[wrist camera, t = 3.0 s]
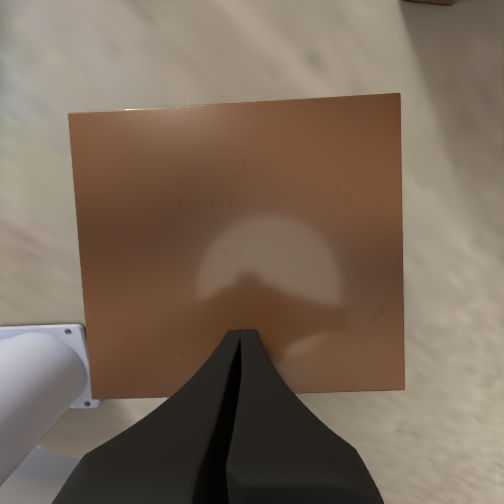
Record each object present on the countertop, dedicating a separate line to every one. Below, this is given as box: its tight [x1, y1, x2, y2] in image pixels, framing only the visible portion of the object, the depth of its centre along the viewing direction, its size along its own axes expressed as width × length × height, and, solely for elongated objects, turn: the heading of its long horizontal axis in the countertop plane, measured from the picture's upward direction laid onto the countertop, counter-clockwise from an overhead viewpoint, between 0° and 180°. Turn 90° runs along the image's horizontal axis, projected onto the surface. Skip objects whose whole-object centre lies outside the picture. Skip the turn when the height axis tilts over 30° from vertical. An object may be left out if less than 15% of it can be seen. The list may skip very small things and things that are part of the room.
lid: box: [68, 93, 405, 400], centre depth 11 cm, size 13×15×1 cm
